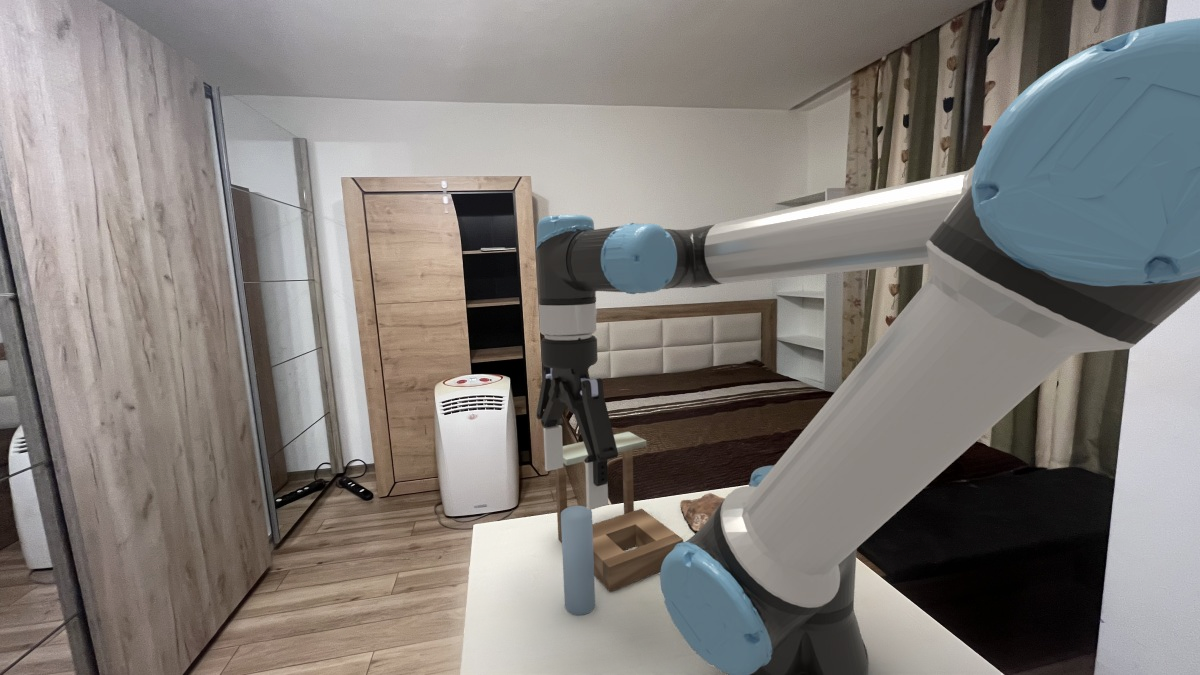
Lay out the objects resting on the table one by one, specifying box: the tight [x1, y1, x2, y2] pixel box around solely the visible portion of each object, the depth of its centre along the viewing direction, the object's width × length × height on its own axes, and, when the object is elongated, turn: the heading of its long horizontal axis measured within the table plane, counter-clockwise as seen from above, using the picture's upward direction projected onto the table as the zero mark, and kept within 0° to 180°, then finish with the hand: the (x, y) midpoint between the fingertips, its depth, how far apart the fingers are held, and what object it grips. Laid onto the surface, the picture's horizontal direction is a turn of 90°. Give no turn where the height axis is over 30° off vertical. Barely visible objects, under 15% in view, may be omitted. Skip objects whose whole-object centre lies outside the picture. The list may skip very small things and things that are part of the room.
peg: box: [561, 505, 596, 616], centre depth 67 cm, size 4×4×14 cm
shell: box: [679, 492, 726, 534], centre depth 91 cm, size 12×13×4 cm
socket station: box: [554, 431, 684, 593], centre depth 80 cm, size 18×16×17 cm
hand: (574, 486), depth 66 cm, fingers open, 13 cm apart
